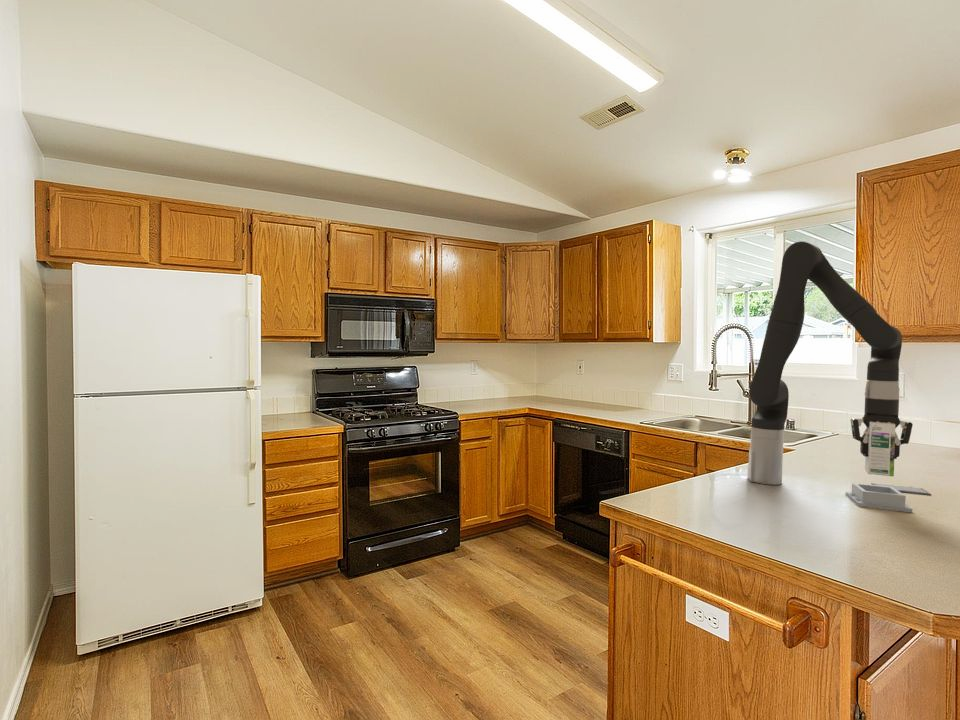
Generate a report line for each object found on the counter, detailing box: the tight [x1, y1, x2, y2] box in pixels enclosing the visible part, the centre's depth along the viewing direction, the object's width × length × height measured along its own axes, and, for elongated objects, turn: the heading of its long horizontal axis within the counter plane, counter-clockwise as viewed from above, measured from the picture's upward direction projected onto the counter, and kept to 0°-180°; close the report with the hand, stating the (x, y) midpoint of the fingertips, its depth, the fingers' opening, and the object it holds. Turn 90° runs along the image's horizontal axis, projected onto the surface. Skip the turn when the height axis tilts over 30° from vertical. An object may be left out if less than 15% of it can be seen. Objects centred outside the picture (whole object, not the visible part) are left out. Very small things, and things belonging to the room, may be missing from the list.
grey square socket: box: [845, 482, 913, 513], centre depth 147 cm, size 12×12×4 cm
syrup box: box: [864, 422, 896, 477], centre depth 147 cm, size 6×6×14 cm
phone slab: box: [870, 482, 932, 497], centre depth 163 cm, size 7×13×1 cm, turn 68°
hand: (879, 457), depth 147 cm, fingers closed on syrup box, 6 cm apart
